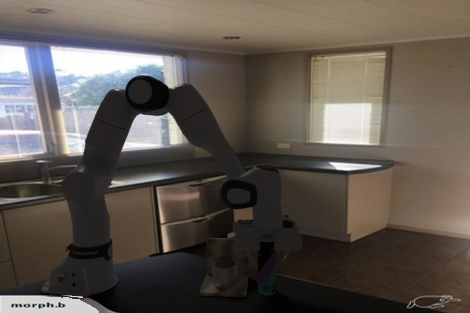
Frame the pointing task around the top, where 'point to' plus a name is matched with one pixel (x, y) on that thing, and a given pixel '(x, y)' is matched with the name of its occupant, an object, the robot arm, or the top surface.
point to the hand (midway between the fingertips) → (267, 264)
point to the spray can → (266, 266)
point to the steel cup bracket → (225, 273)
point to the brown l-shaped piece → (218, 251)
